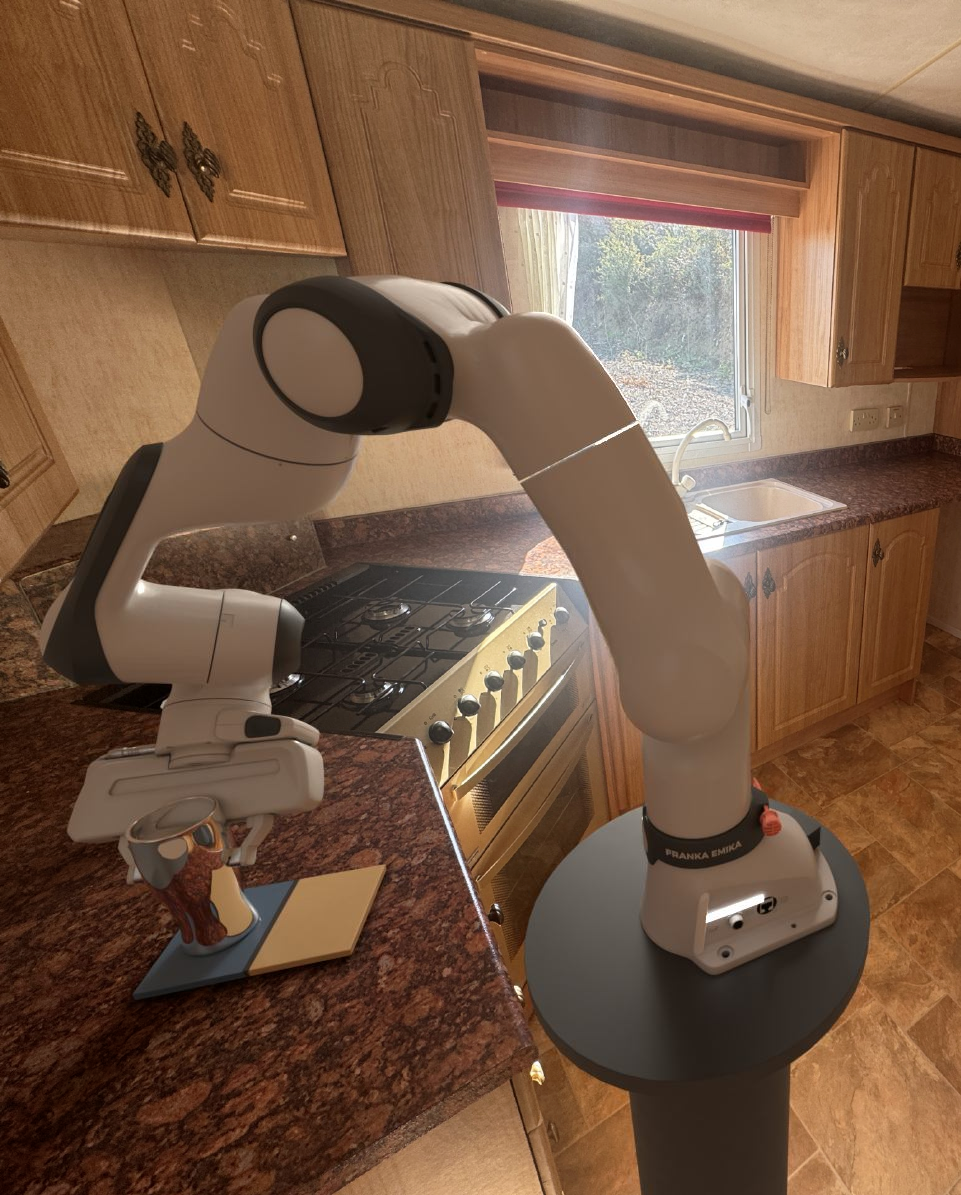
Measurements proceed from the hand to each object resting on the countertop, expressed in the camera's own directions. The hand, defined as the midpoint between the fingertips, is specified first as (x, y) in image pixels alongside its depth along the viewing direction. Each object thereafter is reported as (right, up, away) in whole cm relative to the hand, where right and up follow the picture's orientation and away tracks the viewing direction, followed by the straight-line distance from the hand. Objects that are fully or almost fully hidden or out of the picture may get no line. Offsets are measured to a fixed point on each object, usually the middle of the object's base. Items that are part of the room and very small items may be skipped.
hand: (192, 874), depth 62 cm
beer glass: (0, -8, +4) cm, 9 cm away
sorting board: (+4, -8, +5) cm, 10 cm away
